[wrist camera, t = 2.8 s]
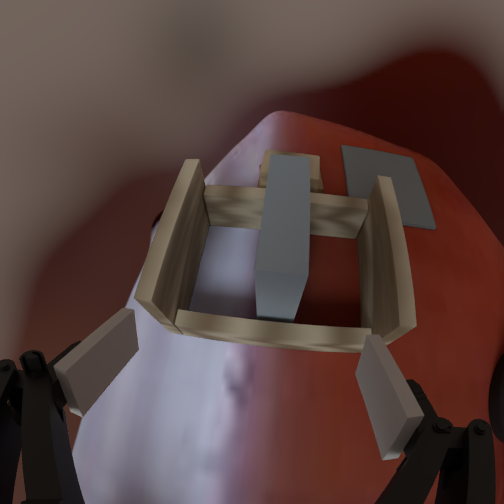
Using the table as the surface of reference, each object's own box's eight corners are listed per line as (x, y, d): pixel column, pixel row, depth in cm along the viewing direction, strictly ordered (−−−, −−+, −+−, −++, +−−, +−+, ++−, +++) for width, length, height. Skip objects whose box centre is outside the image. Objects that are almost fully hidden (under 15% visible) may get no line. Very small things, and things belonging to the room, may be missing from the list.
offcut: (317, 169, 36) (319, 156, 34) (316, 193, 34) (319, 179, 32) (265, 163, 37) (265, 149, 35) (260, 186, 34) (259, 172, 32)
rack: (366, 230, 36) (390, 177, 27) (373, 352, 27) (416, 325, 19) (200, 215, 38) (185, 159, 30) (169, 332, 30) (133, 297, 21)
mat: (411, 160, 44) (412, 157, 43) (434, 229, 36) (436, 227, 35) (341, 147, 45) (341, 144, 45) (349, 218, 37) (351, 215, 36)
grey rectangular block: (297, 237, 36) (309, 157, 25) (290, 329, 30) (308, 274, 18) (269, 234, 36) (270, 154, 25) (257, 325, 30) (254, 269, 19)
